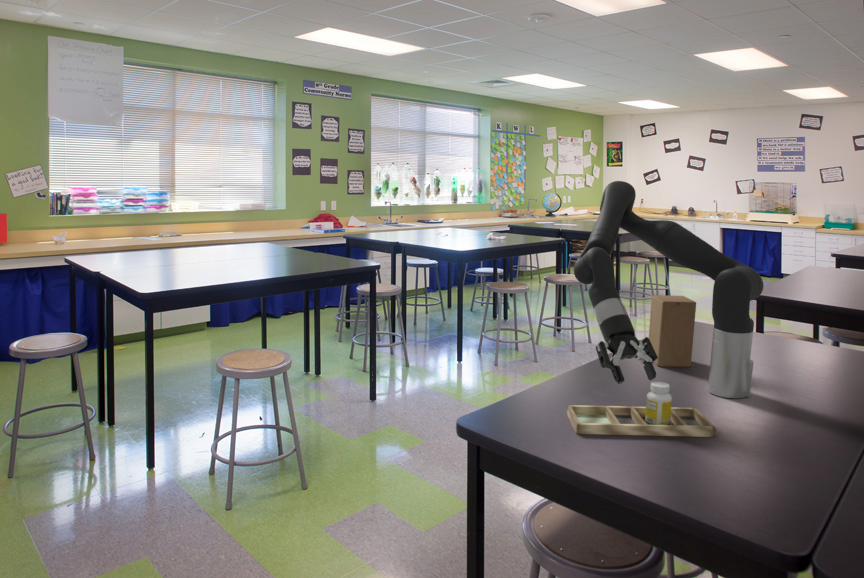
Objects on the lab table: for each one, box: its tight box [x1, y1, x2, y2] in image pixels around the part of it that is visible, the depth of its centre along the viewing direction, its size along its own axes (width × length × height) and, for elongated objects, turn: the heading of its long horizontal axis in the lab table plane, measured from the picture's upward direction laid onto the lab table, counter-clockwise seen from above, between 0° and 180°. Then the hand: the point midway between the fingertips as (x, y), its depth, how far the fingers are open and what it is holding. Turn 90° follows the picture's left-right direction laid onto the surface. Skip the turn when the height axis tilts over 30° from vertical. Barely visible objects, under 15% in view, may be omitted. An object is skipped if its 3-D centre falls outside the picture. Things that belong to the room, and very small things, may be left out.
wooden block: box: [648, 294, 697, 368], centre depth 187 cm, size 10×10×20 cm
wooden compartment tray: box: [566, 404, 717, 438], centre depth 140 cm, size 30×12×2 cm, turn 88°
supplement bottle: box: [644, 381, 673, 425], centre depth 139 cm, size 5×5×10 cm
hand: (637, 380), depth 144 cm, fingers open, 8 cm apart
